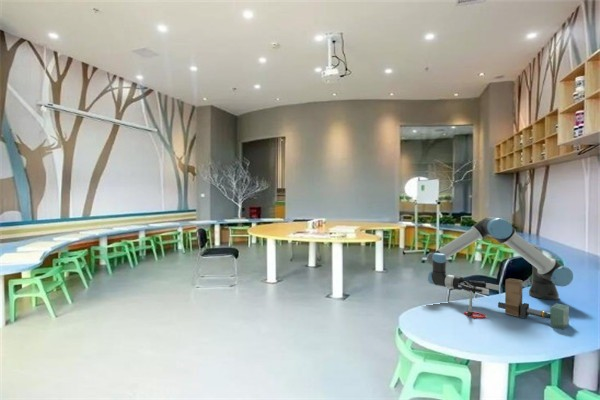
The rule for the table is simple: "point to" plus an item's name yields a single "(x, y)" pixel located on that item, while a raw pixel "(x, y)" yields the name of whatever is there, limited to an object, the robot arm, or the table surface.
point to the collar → (524, 310)
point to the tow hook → (469, 312)
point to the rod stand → (549, 314)
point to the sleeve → (513, 296)
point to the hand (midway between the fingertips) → (494, 289)
